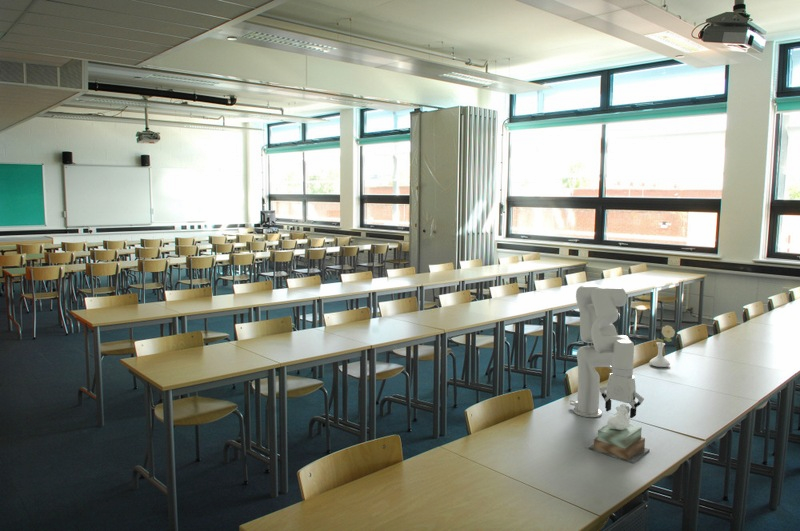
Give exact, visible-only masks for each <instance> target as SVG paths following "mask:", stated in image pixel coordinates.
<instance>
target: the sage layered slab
mask: <svg viewBox="0 0 800 531" xmlns="http://www.w3.org/2000/svg"><path fill="white" fill-rule="evenodd" d="M645 443H646V438H645V437H642V426H638V425H634V424H631V423H629V425H628V427H627V428H626V429H624V430H617V429H609V428H608V427H607V424H606V425H604V426H603V427H601V428H599V429H598V430H597V436H596V437H594V439H593V444H592V445H590V446H588V450H590V451H593V452H597V453H599V454H602V455H606V456H609V457H613V458H615V459H618V460H622V461H623V462H624V461H625V462H628V463H631V464H635V463H636V462H638V461H639V460H640V459H642V458H643V457H644V456H645V455H647V454H649V453H650V448H647V447H645V445H646V444H645Z"/></svg>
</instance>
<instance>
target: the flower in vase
mask: <svg viewBox="0 0 800 531" xmlns="http://www.w3.org/2000/svg"><path fill="white" fill-rule="evenodd" d="M661 328H662V329H661V334H662V335H663V337H664V339H663V340H662V339H660V338H658V337H656V339H657V340H658V341H660V342H655V343H656V346H657V350H658V351H657V355H656V356H655V357H652V358H651V359H650V360H649V365H651V366H653V367H658V368H667V367H670V365H671V362H670V361H669V360H668V359H667V358H666V357H664V356H663V351H664V350H663V348H664V346H665V345H666V343H664V341H666V342H667V343H669V342H670V343H671V342H673V339H672V338H673V337H675V334H676V331H675V329H674V328H673V327H672V326H671V325H668V324H667V325H664V326H662V327H661Z"/></svg>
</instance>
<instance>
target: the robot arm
mask: <svg viewBox="0 0 800 531" xmlns="http://www.w3.org/2000/svg"><path fill="white" fill-rule="evenodd" d="M575 298H576V299H575V301H576V303H577V307H578V310H579V335H580V340H581V341H582V342H583V343H589V344H593V345H584V346H579V348H577V351H576V360H577V368H578V369H577V371H578V372H577V373H578V374H577V397H576V398H577V399H576V400H575V399H572V398H571V399H570V400H569V405H570V406H574V408H573V413H574V414H575V415H578V416H580V417H585V418H599V417H600V416H602V415H603V411H602V410H601V409H600V408H599V407H600V394H601V397H602V398H603V400H604V402H605V405H604V406H605V412H609V411H611V410H612V400H614V401H617V402H621V403H623V404H629V405H630V407H629V408H630V411H629V416H630V419H633V418H635V417H636V415H637V408H638V407H639V406H641V405H642V404H643V402H644V400H645V397H643V396H642V395H640V394H639V393H638V392H636V390H637V388H636V387H637V386H636V379H635V376H634V358H635V354H634V353H635V344H634V343H635V342H633V341H632V340H631V339H630V337H629V336H627V335H624V334H617V328H616V326H615V325H614V323H615V322H616V321H618V318H619V313H618V309H617V307H624V306H625V305H626V304H627V301H628V299H627V298H628V296H627V293H626V290H625V289H624V288H623V287H621V286H619V285H618V286H617V285H613V284H612V285H607V284H606V285H602V284H601V285H600V284H599V285H598V284H590V285H589V284H588V285H587V284H586V285H581V286H579V287H578V288H577V289H576V292H575ZM596 368H608V369H609V370H611V372H610V373H609V374H608V380H607V385H606V386H603V387H600V386H601V385H600V383H601V381H600V379H601V376H600V374H599V372H598V371H597V370H596ZM636 399H637V402H636Z"/></svg>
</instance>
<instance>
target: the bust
mask: <svg viewBox="0 0 800 531" xmlns="http://www.w3.org/2000/svg"><path fill="white" fill-rule="evenodd" d="M630 408H631V407H630V406H629V405H628V403H622V404H620V406H619V405H617V406H616V407H615V410H616V412H615V414H614V415H612V416H610V417H609V418H608V420H607V422H606V425H607V427H608V428H609V429H617V430H624V429H626V428H627V427H628V425H629V424H630V420H631V418H630Z"/></svg>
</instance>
